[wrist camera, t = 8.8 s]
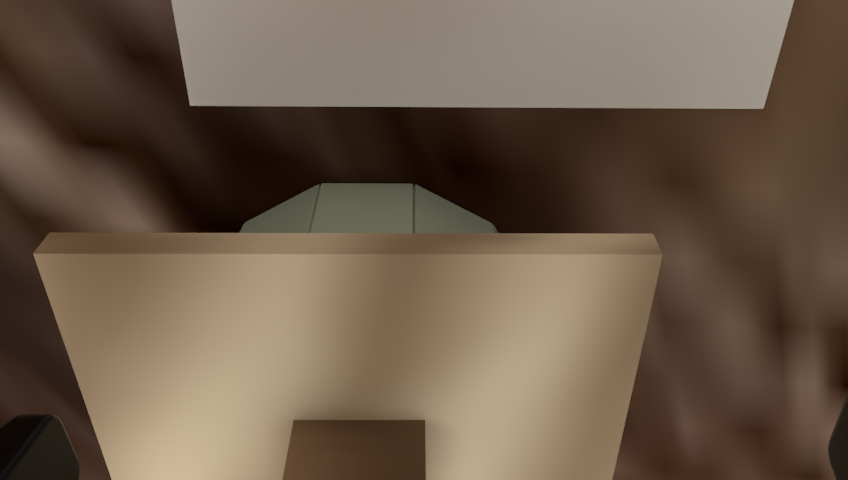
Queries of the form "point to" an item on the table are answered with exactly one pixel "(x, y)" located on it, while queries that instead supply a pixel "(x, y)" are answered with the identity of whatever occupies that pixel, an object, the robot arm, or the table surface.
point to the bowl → (367, 212)
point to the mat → (481, 52)
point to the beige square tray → (354, 351)
